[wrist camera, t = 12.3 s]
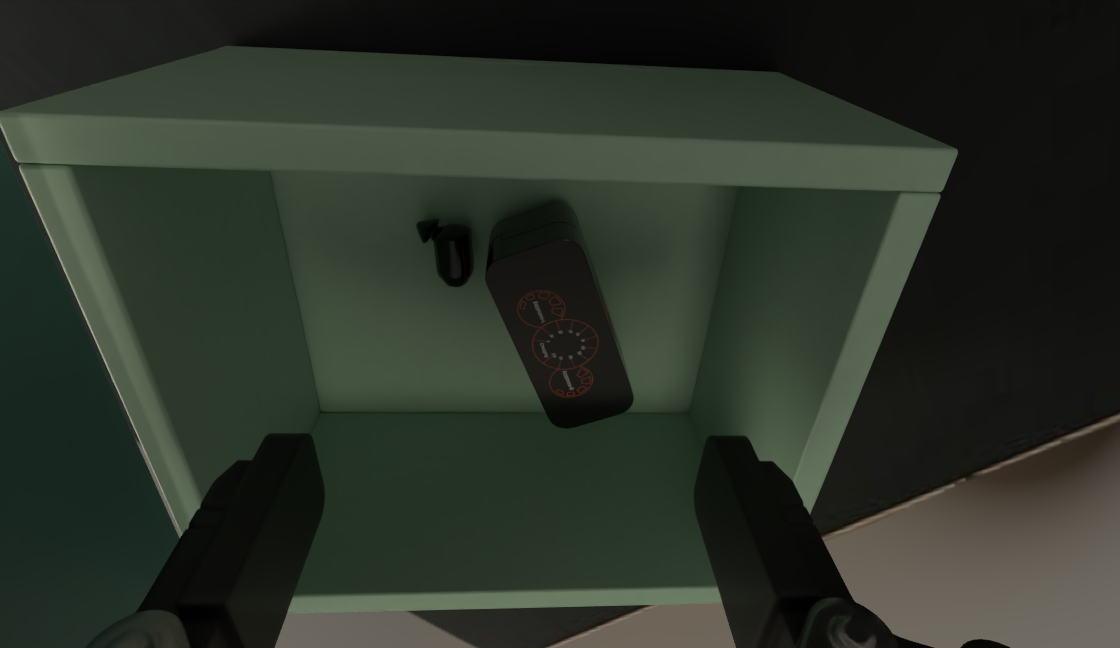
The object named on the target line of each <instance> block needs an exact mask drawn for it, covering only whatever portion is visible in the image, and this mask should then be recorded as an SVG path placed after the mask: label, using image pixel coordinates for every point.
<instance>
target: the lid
mask: <svg viewBox="0 0 1120 648" xmlns="http://www.w3.org/2000/svg"><path fill="white" fill-rule="evenodd" d="M179 539H180V538H179V536H178V534H177V532H176V530H175V527H174V525H173V523H172V521H171V518H170V516H169V514H168V512H167V510H166V507H165V505H164V503H163V501H162V498H161V496H160V494H159V492H158V489H157V487H156V485H155V483H154V480H153V479H152V476H151V474H150V471H149V469H148V467H147V465H146V463H145V460H144V458H143V456H142V454H141V451H140V449H139V447H138V445H137V442H136V440H135V438H134V436H133V434H132V431H131V429H130V427H129V425H128V422H127V420H126V418H125V416H124V413H123V411H122V409H121V407H120V405H119V402H118V400H117V398H116V396H115V393H114V391H113V389H112V387H111V384H110V382H109V380H108V378H107V376H106V373H105V371H104V369H103V367H102V364H101V362H100V360H99V358H98V355H97V353H96V351H95V349H94V347H93V344H92V342H91V340H90V338H89V335H88V333H87V331H86V329H85V326H84V324H83V322H82V320H81V318H80V315H79V313H78V311H77V309H76V306H75V304H74V302H73V300H72V297H71V295H70V293H69V291H68V288H67V286H66V284H65V282H64V280H63V277H62V275H61V273H60V271H59V268H58V266H57V264H56V262H55V259H54V257H53V255H52V253H51V251H50V248H49V246H48V244H47V242H46V239H45V237H44V235H43V233H42V230H41V228H40V226H39V224H38V222H37V219H36V217H35V215H34V213H33V210H32V208H31V206H30V204H29V201H28V199H27V197H26V195H25V193H24V190H23V188H22V186H21V184H20V181H19V179H18V177H17V175H16V172H15V170H14V168H13V166H12V164H11V161H10V159H9V157H8V155H7V152H6V150H5V148H4V146H3V143H2V141H1V139H0V648H85V647H86V646H87V645H88V644H89V643H90V642H91V641H92V640H93V639H94V638H95V637H96V636H97V635H98V634H99V633H101V632H102V631H103V630H104V629H106V628H107V627H109V626H110V625H112V624H113V623H115V622H117V621H119V620H120V619H122V618H125V617H127V616H129V615H132V614H134V613H135V612H136V611H137V609H138V608H139V606H140V605H141V603H142V602H143V600H144V598H145V597H146V595H147V593H148V592H149V590H150V588H151V587H152V585H153V583H154V582H155V580H156V578H157V576H158V575H159V573H160V571H161V570H162V568H163V566H164V565H165V563H166V561H167V560H168V558H169V556H170V555H171V553H172V551H173V549H174V548H175V546H176V544H177V543H178V541H179Z"/></svg>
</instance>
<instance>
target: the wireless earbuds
mask: <svg viewBox="0 0 1120 648" xmlns="http://www.w3.org/2000/svg"><path fill="white" fill-rule="evenodd" d="M438 224H439V219H429V220H423V221H419V222H418V223H417V224H416V228H417V231H418V234H419V236H420V239H421V241H422V242H423V244H424V243H426V242H427V241H428V240H429V239H430V238H431V240H433V241H434V250H435V260H436V269H437V273H438V276H439V277H440V278H441V279H442V280H443V281H444V283H445V284H446V285H447V286H450V287H461V286H463V285H465V284H466V283H467V282H468V281H469V279H470V277H471V275H472V273H473V270H474V253H473V242H472V231H471V228H470V227H468V226H466V225H464V224H458V223H450V224H446V225H442V226H438ZM485 281H486V285H487V287H488V289H489V291H490V294H491V296H492V298H493V300H494V302H495V304H496V307H497V309H498V311H499V313H500V315H501V317H502V320H503V322H504V324H505V326H506V328H507V330H508V333H509V335H510V337H511V339H512V341H513V343H514V345H515V348H516V350H517V352H518V354H519V356H520V358H521V361H522V363H523V365H524V367H525V369H526V371H527V374H528V376H529V378H530V380H531V382H532V384H533V387H534V389H535V391H536V393H537V395H538V397H539V400H540V402H541V404H542V406H543V408H544V410H545V413H546V415H547V417H548V419H549V420H550V422H551V423H552V424H553V425H555V426H556V427H559V428H564V429H569V428H575V427H578V426H582V425H585V424H588V423H592V422H595V421H599V420H602V419H606V418H609V417H612V416H616V415H619V414H622V413H624V412H626V411H627V410H628V409H629V408H630V407H631V406H632V404H633V401H634V395H633V391H632V387H631V383H630V379H629V376H628V372H627V368H626V364H625V360H624V356H623V352H622V349H621V345H620V342H619V339H618V336H617V333H616V331H615V328H614V325H613V322H612V319H611V316H610V313H609V310H608V307H607V304H606V301H605V298H604V295H603V292H602V289H601V287H600V284H599V281H598V278H597V275H596V272H595V269H594V266H593V263H592V260H591V257H590V254H589V251H588V248H587V245H586V242H585V240H584V237H583V234H582V231H581V228H580V225H579V222H578V219H577V216H576V214H575V213H574V211H573V210H572V208H570V207H569V206H568V205H567V204H564V203H561V202H553V203H549V204H546V205H543V206H540V207H537V208H534V209H531V210H528V211H525V212H522V213H520V214H517V215H514V216H511V217H508V218H505V219H502V220H501V221H499V222H497V223H496V224H495V225H494V227H493V228H492V230H491V233H490V238H489V247H488V256H487V264H486V273H485Z"/></svg>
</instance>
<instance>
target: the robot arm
mask: <svg viewBox="0 0 1120 648" xmlns="http://www.w3.org/2000/svg"><path fill="white" fill-rule="evenodd" d="M324 503H325V487H324V482H323V478H322V474H321V470H320V466H319V461H318V457H317V453H316V449H315V445H314V441H313V438H312V436H311V434H309V433H269V434H268V435H266V436H265V438H264V439H263V441H262V443H261V445H260V446H259V448H258V450H257V452H256V454H255V456H254V457H253V459H252V460H237V461H236V462H235V463H234V464H233V465H232V466H230V467H229V468H228V469H227V470H226V471H225V472H224V473H222V474H221V475H220V476H219V477H218V478H217V479H216V480H215V481H214V482H213V484H212V485H211V487H210V489H209V490H208V492H207V494H206V496H205V497H204V499H203V501H202V502H201V504H200V509H197V511H196V512H195V514H194V516H193V517H192V519H191V521H190V522H189V527H188V529H185V531H184V533H183V534H182V536H181V538H180V539H179V541H178V543H177V544H176V546H175V548H174V549H173V551H172V553H171V555H170V556H169V558H168V560H167V561H166V563H165V565H164V566H163V568H162V570H161V571H160V573H159V575H158V576H157V578H156V580H155V582H154V583H153V585H152V587H151V588H150V590H149V592H148V593H147V595H146V597H145V598H144V600H143V602H142V603H141V605H140V606H139V608H138V609H137V611H136V612H135V613H134V614H132V615H129V616H127V617H125V618H122V619H120V620H119V621H117V622H115V623H113V624H112V625H110V626H109V627H107V628H106V629H104V630H103V631H102V632H101V633H99V634H98V635H97V636H96V637H95V638H94V639H93V640H92V641H91V642H90V643H89V644H88V645H87V646H86V647H85V648H274V647H275V645H276V642H277V639H278V636H279V634H280V631H281V628H282V625H283V623H284V620H285V617H286V614H287V612H288V609H289V606H290V603H291V601H292V598H293V595H294V592H295V590H296V587H297V584H298V581H299V578H300V576H301V573H302V570H303V567H304V565H305V562H306V559H307V556H308V554H309V551H310V548H311V545H312V543H313V540H314V537H315V534H316V532H317V529H318V526H319V523H320V521H321V518H322V514H323V510H324ZM803 503H804V502H803V500H802V498H801V497H800V495H799V493H798V491H797V489H796V487H795V485H794V483H793V481H792V480H791V479H790V478H789V477H788V476H787V475H786V474H785V473H784V472H783V471H782V470H781V469H780V468H779V467H778V466H777V465H776V464H775V463H774V462H773V461H759V459H758V457H757V455H756V453H755V450H754V448H753V446H752V444H751V442H750V440H749V439H748V437H746V436H744V435H710V436H708V438H707V439H706V442H705V446H704V450H703V454H702V458H701V462H700V466H699V470H698V474H697V478H696V482H695V486H694V508H695V513H696V517H697V521H698V524H699V527H700V531H701V534H702V537H703V540H704V544H705V547H706V550H707V554H708V557H709V560H710V563H711V567H712V570H713V573H714V577H715V580H716V583H717V586H718V590H719V593H720V596H721V600H722V603H723V606H724V609H725V612H726V616H727V619H728V622H729V626H730V629H731V632H732V635H733V639H734V642H735V645H736V648H933V647H930V646H926V645H923V644H919V643H916V642H913V641H909V640H906V639H904V638H901V637H898V636H896V635H894V634H892V632H891V631H890V629H889V628H888V627H887V626H886V625H885V623H884V622H883V621H882V620H881V619H880V618H879V617H878V616H877V615H875V614H874V613H873V612H871V611H870V610H868V609H867V608H865V607H864V606H862V605H860V604H858V603H856V602H855V601H854V600H853V598H852V596H851V595H850V593H849V591H848V589H847V587H846V585H845V583H844V581H843V579H842V577H841V575H840V573H839V572H838V569H837V567H836V565H835V563H834V561H833V559H832V557H831V555H830V554H829V552H828V550H827V548H826V546H825V544H824V542H823V540H822V538H821V536H820V534H819V532H818V530H817V528H816V526H814V525H813V520H812V518H811V516H810V514H809V512H808V510H807V508H806V507H804V505H803ZM961 648H1010V647H1008V646H1005V645H1003V644H1000V643H998V642H994V641H990V640H983V639H978V640H971V641H968V642H967V643H965V644H963V646H962V647H961Z"/></svg>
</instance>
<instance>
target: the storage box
mask: <svg viewBox="0 0 1120 648" xmlns="http://www.w3.org/2000/svg"><path fill="white" fill-rule="evenodd" d="M0 127H1V129H2V132H3V134H4V136H5V138H6V141H7V143H8V145H9V147H10V150H11V152H12V154H13V156H14V159H15V160H16V161H17V162H20V163H23V164H20V166H19V170H20V172H21V174H22V177H23V179H24V181H25V183H26V186H27V188H28V190H29V192H30V195H31V197H32V199H33V201H34V204H35V206H36V208H37V210H38V213H39V215H40V217H41V219H42V222H43V224H44V226H45V229H46V231H47V233H48V235H49V238H50V240H51V242H52V244H53V247H54V249H55V251H56V253H57V256H58V258H59V260H60V262H61V265H62V267H63V269H64V271H65V274H66V276H67V278H68V280H69V283H70V285H71V287H72V289H73V292H74V294H75V296H76V298H77V301H78V303H79V305H80V307H81V310H82V312H83V314H84V316H85V319H86V321H87V323H88V326H89V328H90V330H91V332H92V335H93V337H94V339H95V341H96V344H97V346H98V348H99V350H100V353H101V355H102V357H103V359H104V362H105V364H106V366H107V368H108V371H109V373H110V375H111V377H112V380H113V382H114V384H115V386H116V389H117V391H118V393H119V395H120V398H121V400H122V402H123V404H124V407H125V409H126V411H127V413H128V416H129V418H130V420H131V422H132V425H133V427H134V429H135V432H136V434H137V436H138V438H139V441H140V443H141V445H142V447H143V450H144V451H145V454H146V456H147V459H148V461H149V463H150V465H151V468H152V470H153V472H154V474H155V476H156V479H157V481H158V483H159V486H160V488H161V490H162V492H163V495H164V497H165V499H166V501H167V504H168V506H169V508H170V510H171V513H172V515H173V517H174V519H175V522H176V524H177V526H178V528H179V531H180V533H181V535H182V534H183V533H184V531H185V529H188V527H189V522H190V521H191V519H192V517H193V516H194V514H195V512H196V511H197V509H200V504H201V502H202V501H203V499H204V497H205V496H206V494H207V492H208V490H209V489H210V487H211V485H212V484H213V482H214V481H215V480H216V479H217V478H218V477H219V476H220V475H221V474H222V473H224V472H225V471H226V470H227V469H228V468H229V467H230V466H232V465H233V464H234V463H235V462H236V461H237V460H252V459H253V457H254V456H255V454H256V452H257V450H258V448H259V446H260V445H261V443H262V441H263V439H264V438H265V436H266V435H268V434H269V433H309V434H311V436H312V438H313V441H314V445H315V449H316V453H317V457H318V461H319V466H320V470H321V474H322V478H323V482H324V487H325V503H324V510H323V514H322V518H321V521H320V523H319V526H318V529H317V532H316V534H315V537H314V540H313V543H312V545H311V548H310V551H309V554H308V556H307V559H306V562H305V565H304V567H303V570H302V573H301V576H300V578H299V581H298V584H297V587H296V590H295V592H294V595H293V598H292V601H291V603H290V606H289V609H288V612H287V613H319V612H361V611H406V610H448V609H490V608H532V607H574V606H616V605H659V604H699V603H722V600H721V596H720V593H719V590H718V586H717V583H716V580H715V577H714V573H713V570H712V567H711V563H710V560H709V557H708V554H707V550H706V547H705V544H704V540H703V537H702V534H701V531H700V527H699V524H698V521H697V517H696V513H695V508H694V486H695V482H696V478H697V474H698V470H699V466H700V462H701V458H702V454H703V450H704V446H705V442H706V439H707V438H708V436H710V435H744V436H746V437H748V439H749V440H750V442H751V444H752V446H753V448H754V450H755V453H756V455H757V457H758V459H759V461H773V462H774V463H775V464H776V465H777V466H778V467H779V468H780V469H781V470H782V471H783V472H784V473H785V474H786V475H787V476H788V477H789V478H790V479H791V480H792V481H793V483H794V485H795V487H796V489H797V491H798V493H799V495H800V497H801V498H802V500H803V502H804V503H803V505H804V507H806V508H807V510H808V512H809V514H810V513H811V511H812V508H813V506H814V503H815V501H816V499H817V496H818V494H819V491H820V489H821V486H822V484H823V481H824V479H825V477H826V474H827V472H828V469H829V467H830V464H831V462H832V460H833V457H834V455H835V452H836V450H837V447H838V445H839V443H840V440H841V438H842V435H843V433H844V430H845V428H846V426H847V423H848V421H849V418H850V416H851V413H852V411H853V409H854V406H855V404H856V401H857V399H858V396H859V394H860V392H861V389H862V387H863V384H864V382H865V379H866V377H867V374H868V372H869V370H870V367H871V365H872V362H873V360H874V357H875V355H876V353H877V350H878V348H879V345H880V343H881V340H882V338H883V336H884V333H885V331H886V328H887V326H888V323H889V321H890V319H891V316H892V314H893V311H894V309H895V306H896V304H897V302H898V299H899V297H900V294H901V292H902V289H903V287H904V285H905V282H906V280H907V277H908V275H909V272H910V270H911V267H912V265H913V263H914V260H915V258H916V255H917V253H918V250H919V248H920V246H921V243H922V241H923V238H924V236H925V233H926V231H927V229H928V226H929V224H930V221H931V219H932V216H933V214H934V212H935V209H936V207H937V204H938V202H939V199H940V194H939V193H937V192H941V191H942V190H943V188H944V186H945V184H946V181H947V179H948V176H949V174H950V171H951V169H952V167H953V164H954V162H955V159H956V157H957V154H958V150H957V149H955V148H953V147H951V146H949V145H946V144H944V143H942V142H939V141H937V140H935V139H932V138H930V137H928V136H925V135H923V134H921V133H918V132H916V131H914V130H911V129H909V128H907V127H904V126H902V125H900V124H897V123H895V122H893V121H890V120H888V119H886V118H883V117H881V116H879V115H876V114H874V113H872V112H869V111H867V110H865V109H862V108H860V107H858V106H855V105H853V104H851V103H848V102H846V101H844V100H841V99H839V98H837V97H834V96H832V95H830V94H827V93H825V92H823V91H820V90H818V89H816V88H813V87H811V86H809V85H806V84H804V83H802V82H799V81H797V80H795V79H792V78H790V77H788V76H786V75H784V74H781V73H779V72H763V71H742V70H721V69H700V68H680V67H659V66H638V65H617V64H596V63H575V62H554V61H534V60H513V59H492V58H471V57H450V56H429V55H408V54H388V53H367V52H346V51H325V50H304V49H283V48H263V47H242V46H225V47H222V48H218V49H215V50H212V51H209V52H205V53H202V54H198V55H195V56H191V57H188V58H184V59H181V60H177V61H174V62H170V63H167V64H163V65H160V66H156V67H153V68H149V69H146V70H142V71H139V72H135V73H132V74H128V75H125V76H121V77H118V78H114V79H111V80H107V81H104V82H100V83H97V84H93V85H90V86H86V87H83V88H79V89H76V90H72V91H69V92H65V93H62V94H59V95H55V96H52V97H48V98H45V99H41V100H38V101H34V102H31V103H27V104H24V105H20V106H17V107H13V108H10V109H6V110H3V111H0ZM553 202H561V203H564V204H567V205H568V206H569V207H570V208H572V210H573V211H574V213H575V214H576V216H577V219H578V222H579V225H580V228H581V231H582V234H583V237H584V240H585V242H586V245H587V248H588V251H589V254H590V257H591V260H592V263H593V266H594V269H595V272H596V275H597V278H598V281H599V284H600V287H601V289H602V292H603V295H604V298H605V301H606V304H607V307H608V310H609V313H610V316H611V319H612V322H613V325H614V328H615V331H616V333H617V336H618V339H619V342H620V345H621V349H622V352H623V356H624V360H625V364H626V368H627V372H628V376H629V379H630V383H631V387H632V391H633V395H634V401H633V404H632V406H631V407H630V408H629V409H628V410H627V411H626V412H624V413H622V414H619V415H616V416H612V417H609V418H606V419H602V420H599V421H595V422H592V423H588V424H585V425H582V426H578V427H575V428H569V429H564V428H559V427H556V426H555V425H553V424H552V423H551V422H550V420H549V419H548V417H547V415H546V413H545V410H544V408H543V406H542V404H541V402H540V400H539V397H538V395H537V393H536V391H535V389H534V387H533V384H532V382H531V380H530V378H529V376H528V374H527V371H526V369H525V367H524V365H523V363H522V361H521V358H520V356H519V354H518V352H517V350H516V348H515V345H514V343H513V341H512V339H511V337H510V335H509V333H508V330H507V328H506V326H505V324H504V322H503V320H502V317H501V315H500V313H499V311H498V309H497V307H496V304H495V302H494V300H493V298H492V296H491V294H490V291H489V289H488V287H487V285H486V281H485V273H486V264H487V256H488V247H489V238H490V233H491V230H492V228H493V227H494V225H495V224H496V223H497V222H499V221H501V220H502V219H505V218H508V217H511V216H514V215H517V214H520V213H522V212H525V211H528V210H531V209H534V208H537V207H540V206H543V205H546V204H549V203H553ZM429 219H439V224H438V226H442V225H446V224H450V223H458V224H464V225H466V226H468V227H470V228H471V231H472V242H473V253H474V270H473V273H472V275H471V277H470V279H469V281H468V282H467V283H466V284H465V285H463V286H461V287H450V286H447V285H446V284H445V283H444V281H443V280H442V279H441V278H440V277H439V276H438V273H437V269H436V260H435V250H434V241H433V240H431V238H430V239H429V240H428V241H427V242H426V243H424V244H423V242H422V241H421V239H420V236H419V234H418V231H417V228H416V224H417V223H418V222H419V221H423V220H429Z"/></svg>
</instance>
